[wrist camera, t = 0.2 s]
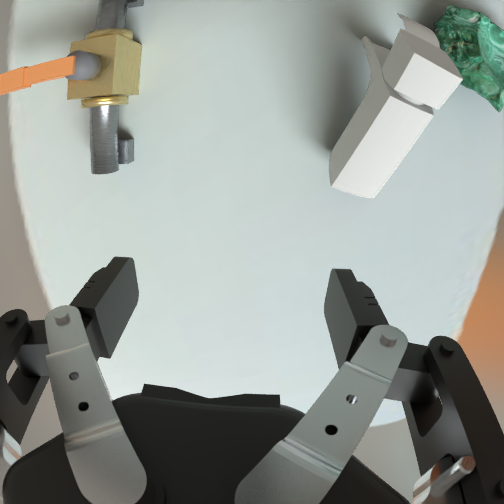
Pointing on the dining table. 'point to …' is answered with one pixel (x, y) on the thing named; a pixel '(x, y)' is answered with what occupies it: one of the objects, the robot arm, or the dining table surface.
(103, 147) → the valve
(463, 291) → the dining table surface
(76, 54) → the lever
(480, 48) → the mineral
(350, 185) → the faucet
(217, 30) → the dining table surface
